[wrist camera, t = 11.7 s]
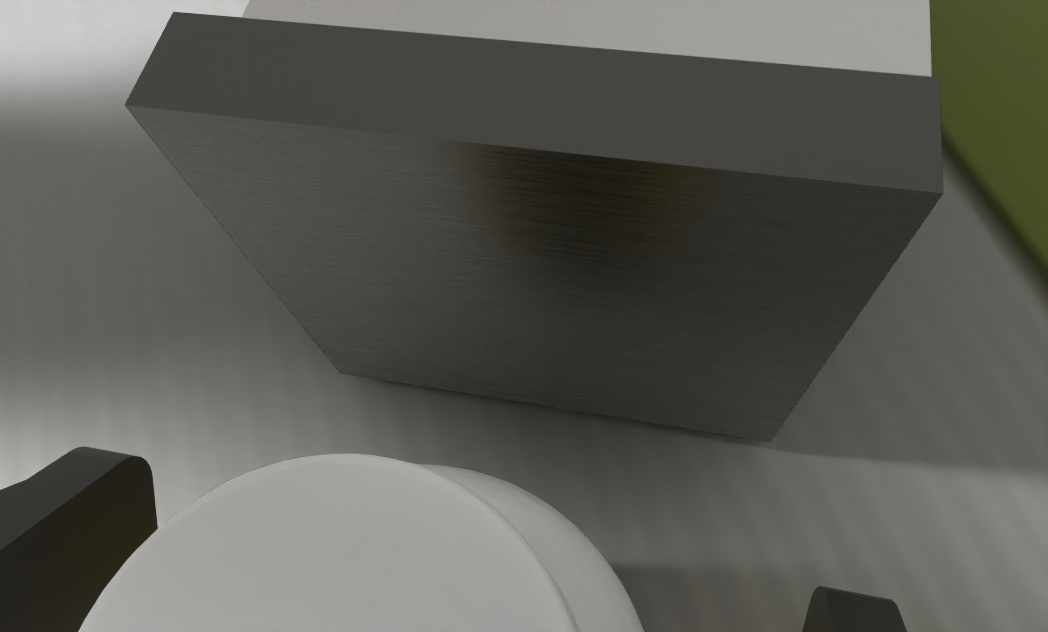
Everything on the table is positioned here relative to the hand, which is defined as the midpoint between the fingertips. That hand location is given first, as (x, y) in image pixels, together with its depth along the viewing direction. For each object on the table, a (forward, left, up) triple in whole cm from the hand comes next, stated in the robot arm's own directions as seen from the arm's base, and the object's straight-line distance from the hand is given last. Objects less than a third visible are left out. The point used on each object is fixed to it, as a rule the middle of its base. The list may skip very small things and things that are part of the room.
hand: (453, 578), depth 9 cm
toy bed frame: (-7, +9, -6) cm, 12 cm away
